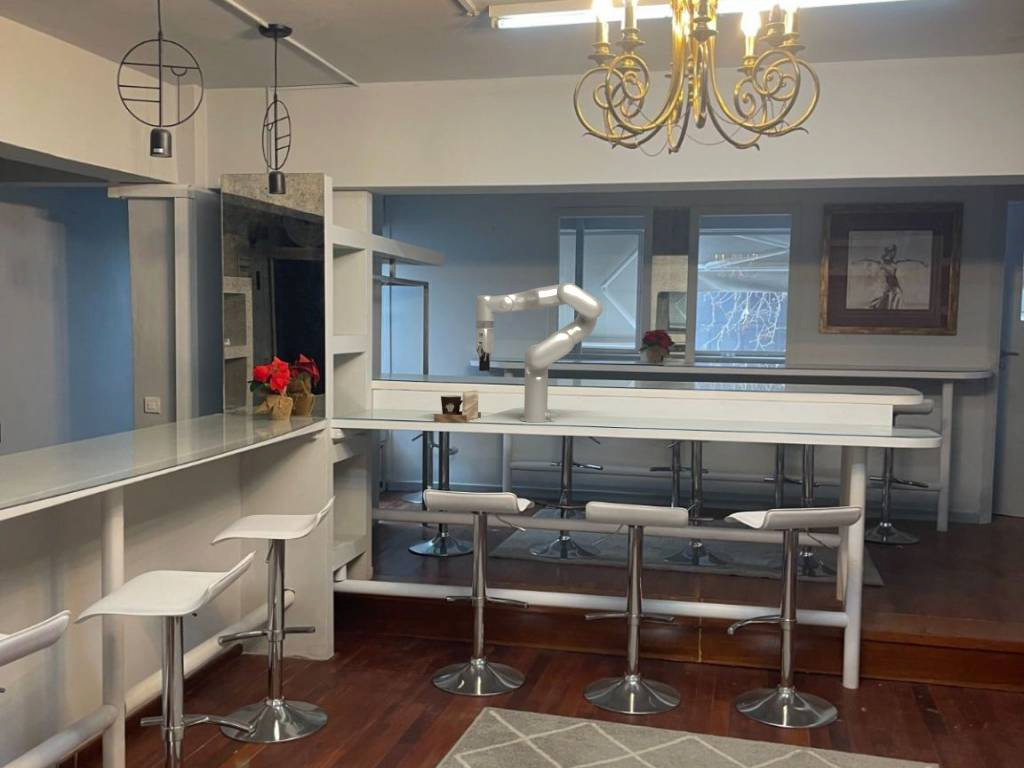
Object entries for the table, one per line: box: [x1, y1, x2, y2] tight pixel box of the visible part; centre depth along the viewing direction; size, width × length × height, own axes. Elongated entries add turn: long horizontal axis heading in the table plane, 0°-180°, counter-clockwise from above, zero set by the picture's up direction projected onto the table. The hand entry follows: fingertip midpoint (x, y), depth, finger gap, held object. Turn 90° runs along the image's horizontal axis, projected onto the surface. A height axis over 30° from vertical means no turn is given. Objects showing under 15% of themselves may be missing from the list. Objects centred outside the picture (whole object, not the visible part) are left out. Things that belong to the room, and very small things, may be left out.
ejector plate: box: [461, 389, 479, 423], centre depth 395 cm, size 2×14×12 cm, turn 161°
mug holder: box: [433, 410, 482, 424], centre depth 397 cm, size 14×17×3 cm
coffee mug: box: [440, 394, 463, 415], centre depth 397 cm, size 12×9×10 cm
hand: (484, 370), depth 392 cm, fingers closed
